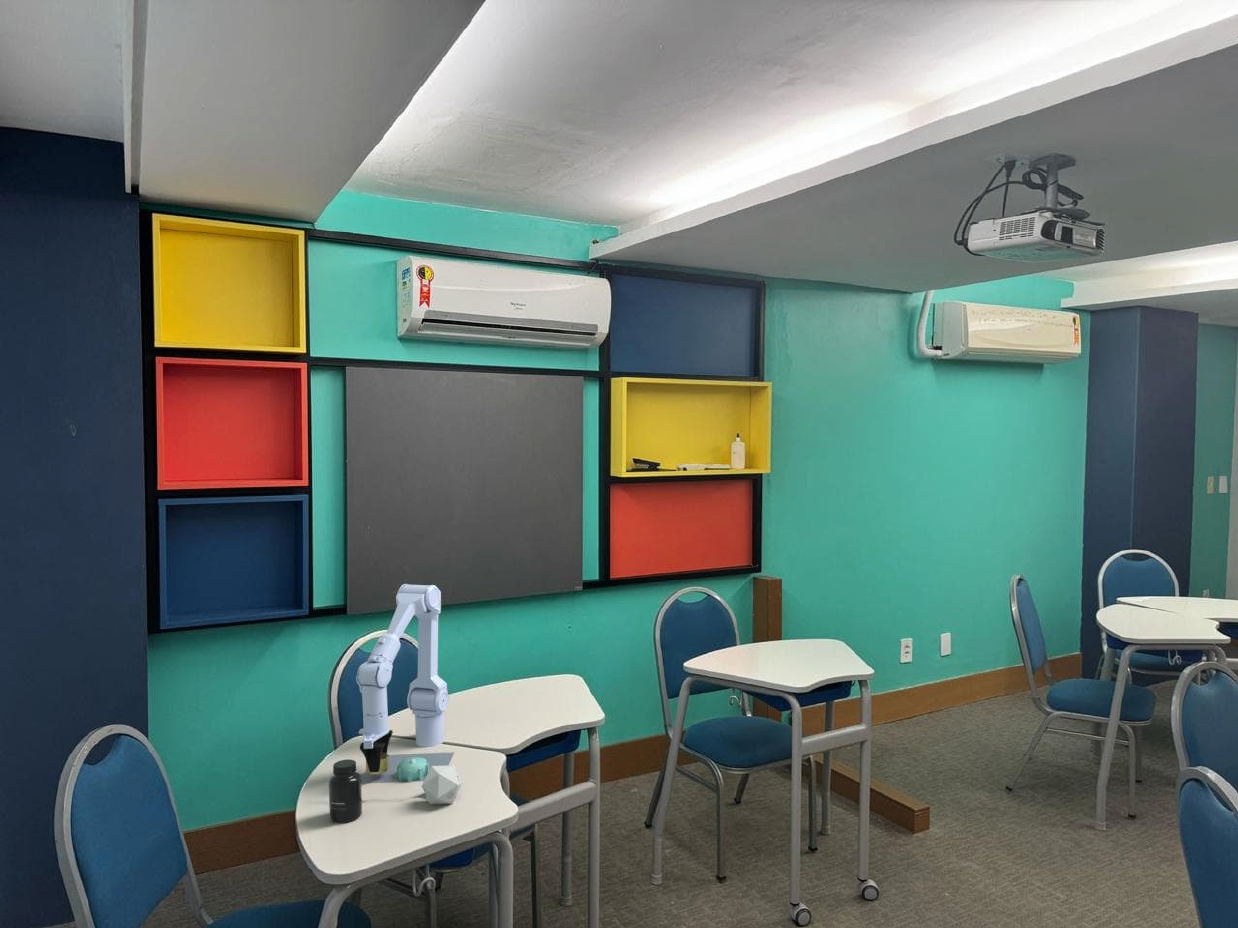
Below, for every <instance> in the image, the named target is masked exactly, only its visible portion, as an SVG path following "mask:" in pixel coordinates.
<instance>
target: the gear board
mask: <svg viewBox="0 0 1238 928" xmlns="http://www.w3.org/2000/svg"><path fill="white" fill-rule="evenodd" d="M454 754H455V752H453V751H452V752H432V753H431V752H430V753H429V752H428V753H425V752H423V753H401V754H400V753H399V754H395V753H394V754H388V755H389V769H388V770H387V771H386V772H383V773H381V774H369V773H367V772H366V771H365V772H364V773H363V775H362V776H361V784H378V783H379V784H381V783H382V784H383V783H386V784H387V783H407V782H408V783H412V782H424V780H425V778H426V776H427V774H428V772H429V770H430V768H431V766H449V765H450V763H451V761H452V758H453V756H454Z"/></svg>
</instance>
